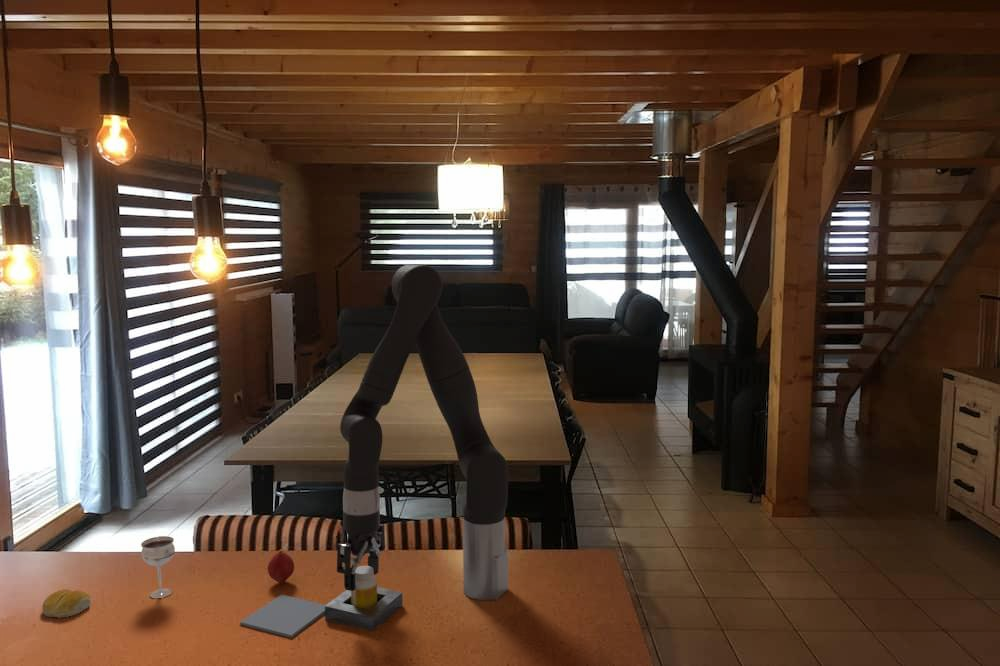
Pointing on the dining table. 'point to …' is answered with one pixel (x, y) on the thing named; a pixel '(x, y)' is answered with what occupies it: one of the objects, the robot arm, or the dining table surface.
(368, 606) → the supplement bottle
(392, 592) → the holder ring
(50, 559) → the dining table surface
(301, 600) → the rubber mat
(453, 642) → the dining table surface
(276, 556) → the onion
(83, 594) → the bread roll
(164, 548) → the wineglass
